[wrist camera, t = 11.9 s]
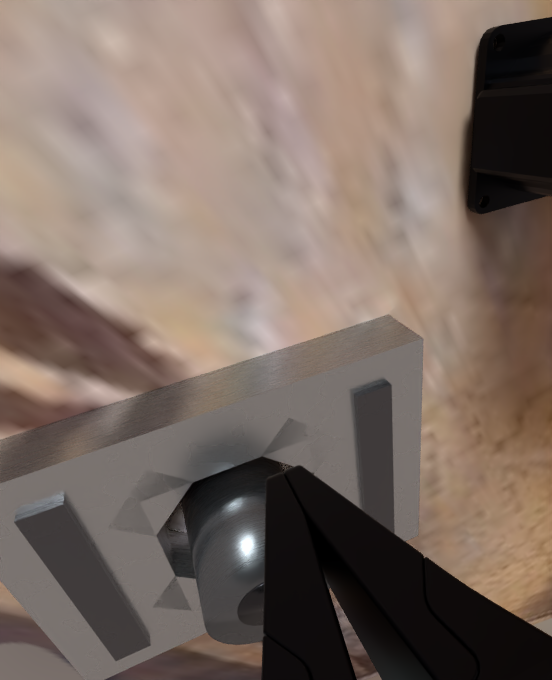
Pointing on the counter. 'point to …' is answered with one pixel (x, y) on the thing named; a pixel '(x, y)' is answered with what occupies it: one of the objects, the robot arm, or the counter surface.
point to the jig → (192, 465)
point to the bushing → (230, 548)
